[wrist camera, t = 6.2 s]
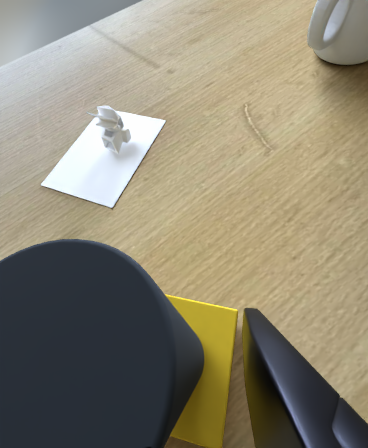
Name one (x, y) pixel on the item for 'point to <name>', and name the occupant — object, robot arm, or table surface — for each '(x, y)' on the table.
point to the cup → (340, 31)
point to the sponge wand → (106, 353)
